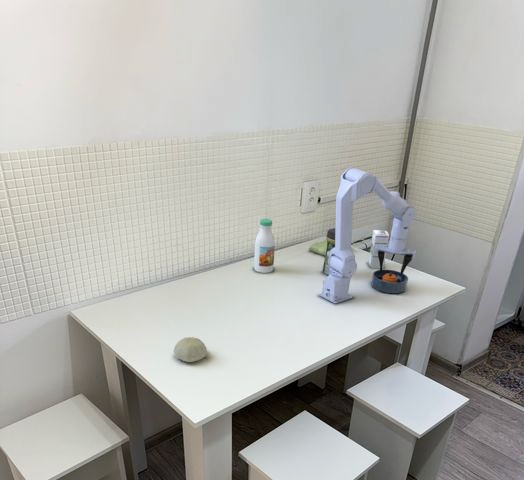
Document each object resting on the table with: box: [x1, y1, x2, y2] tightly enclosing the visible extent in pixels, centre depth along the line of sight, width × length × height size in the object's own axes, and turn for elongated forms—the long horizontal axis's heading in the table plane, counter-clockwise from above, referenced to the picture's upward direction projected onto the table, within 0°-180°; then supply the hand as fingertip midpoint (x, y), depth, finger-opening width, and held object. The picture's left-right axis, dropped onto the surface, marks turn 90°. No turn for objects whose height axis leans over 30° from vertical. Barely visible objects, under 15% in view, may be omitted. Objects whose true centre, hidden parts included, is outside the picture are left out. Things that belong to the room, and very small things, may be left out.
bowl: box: [370, 268, 409, 294], centre depth 186 cm, size 13×13×4 cm
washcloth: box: [308, 238, 353, 257], centre depth 217 cm, size 13×18×3 cm
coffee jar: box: [322, 227, 336, 276], centre depth 192 cm, size 10×8×19 cm
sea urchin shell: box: [173, 336, 207, 363], centre depth 138 cm, size 9×8×8 cm
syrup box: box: [368, 229, 390, 269], centre depth 202 cm, size 6×6×14 cm
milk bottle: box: [253, 218, 276, 274], centre depth 191 cm, size 8×8×20 cm
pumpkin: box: [382, 273, 397, 283], centre depth 186 cm, size 6×6×5 cm
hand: (391, 272), depth 184 cm, fingers open, 7 cm apart
